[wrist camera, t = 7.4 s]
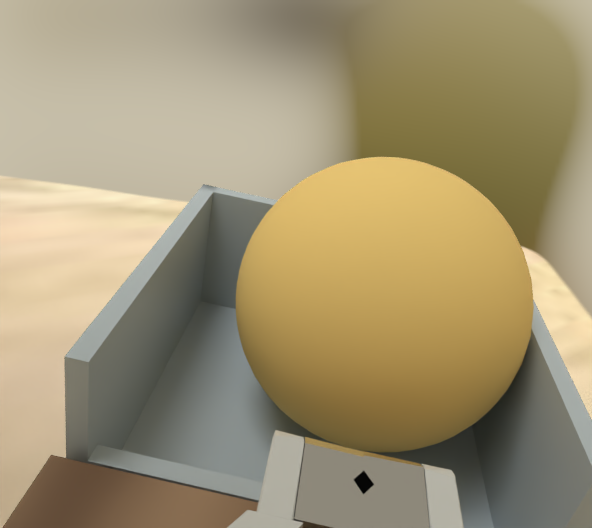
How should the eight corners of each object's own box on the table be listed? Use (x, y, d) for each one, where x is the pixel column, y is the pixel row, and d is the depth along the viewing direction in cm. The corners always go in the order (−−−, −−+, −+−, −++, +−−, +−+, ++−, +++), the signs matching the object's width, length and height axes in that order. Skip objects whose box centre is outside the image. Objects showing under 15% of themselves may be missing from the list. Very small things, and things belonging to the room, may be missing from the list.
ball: (287, 86, 21) (288, 280, 28) (160, 256, 14) (203, 460, 21) (572, 127, 19) (499, 327, 26) (590, 354, 12) (483, 546, 19)
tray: (67, 519, 17) (64, 356, 14) (190, 298, 28) (203, 184, 25) (527, 626, 16) (621, 482, 13) (465, 360, 27) (509, 251, 25)
